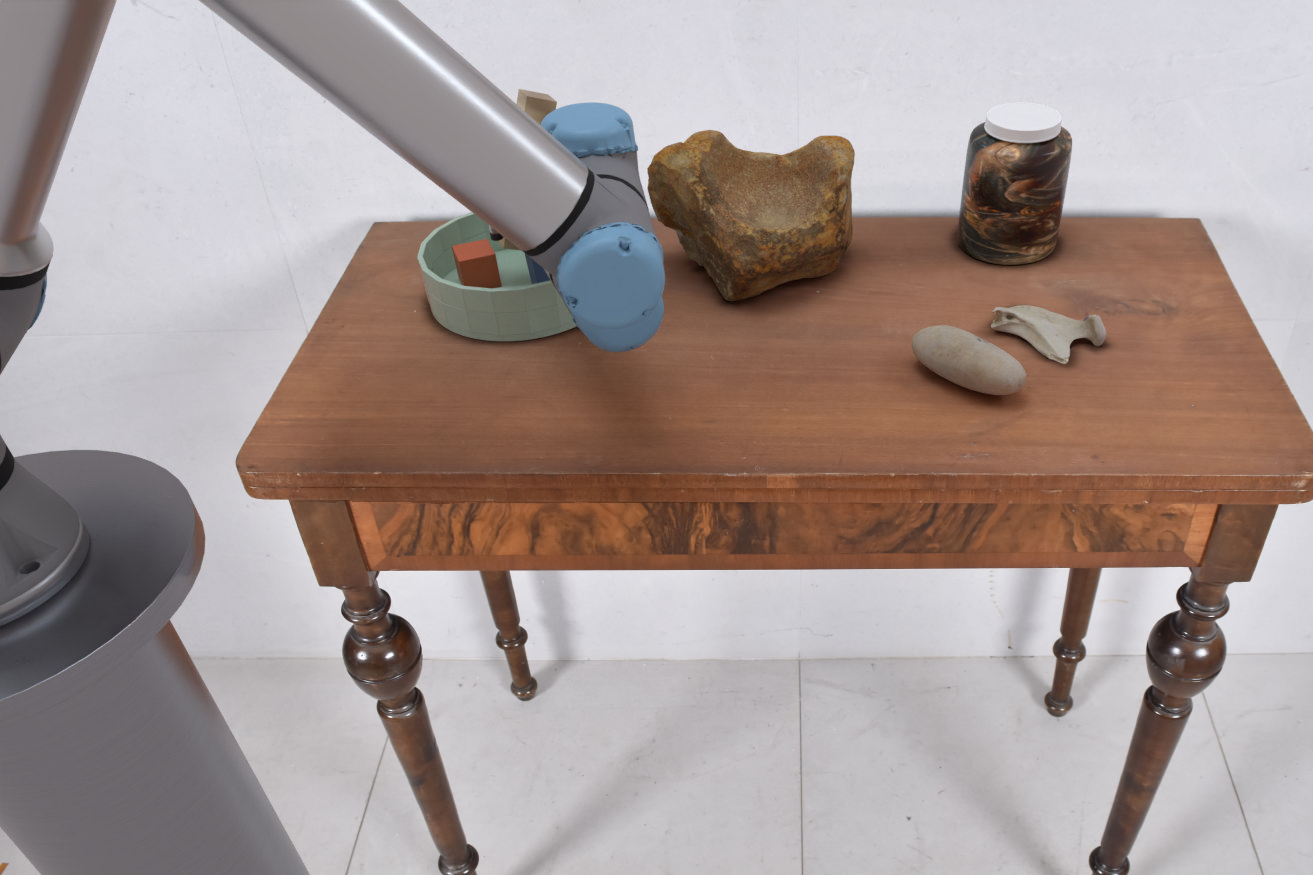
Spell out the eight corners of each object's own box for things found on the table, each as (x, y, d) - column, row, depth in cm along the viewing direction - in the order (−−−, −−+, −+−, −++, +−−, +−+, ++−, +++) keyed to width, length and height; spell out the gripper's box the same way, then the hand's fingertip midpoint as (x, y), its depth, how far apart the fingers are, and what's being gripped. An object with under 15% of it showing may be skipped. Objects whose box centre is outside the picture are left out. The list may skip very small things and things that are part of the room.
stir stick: (503, 248, 115) (526, 96, 108) (496, 238, 118) (518, 88, 111) (532, 252, 117) (557, 101, 110) (524, 242, 119) (548, 94, 112)
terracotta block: (466, 294, 118) (458, 261, 115) (458, 278, 121) (451, 245, 118) (501, 286, 119) (495, 253, 117) (493, 270, 122) (487, 238, 119)
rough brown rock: (653, 326, 115) (646, 200, 105) (650, 242, 127) (644, 121, 116) (867, 319, 117) (881, 195, 106) (845, 237, 129) (856, 118, 118)
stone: (928, 322, 108) (1040, 325, 101) (928, 384, 110) (1038, 391, 103) (898, 328, 104) (1013, 332, 97) (899, 392, 106) (1011, 401, 98)
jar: (947, 221, 131) (960, 98, 121) (1042, 217, 131) (1062, 94, 122) (967, 268, 122) (982, 139, 112) (1068, 263, 122) (1092, 134, 113)
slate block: (539, 292, 115) (530, 255, 114) (533, 289, 119) (524, 252, 117) (575, 284, 116) (567, 247, 115) (568, 281, 120) (559, 245, 118)
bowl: (450, 359, 110) (438, 307, 106) (415, 272, 124) (403, 224, 120) (638, 315, 116) (632, 265, 112) (584, 237, 130) (577, 190, 126)
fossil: (1075, 371, 106) (1082, 341, 104) (983, 333, 112) (987, 304, 109) (1109, 343, 110) (1116, 313, 108) (1018, 307, 115) (1022, 279, 113)
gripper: (490, 299, 101) (441, 201, 117) (664, 261, 106) (594, 172, 122) (475, 225, 96) (426, 134, 112) (659, 189, 101) (586, 107, 117)
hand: (514, 154), depth 117 cm, fingers closed on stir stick, 4 cm apart
